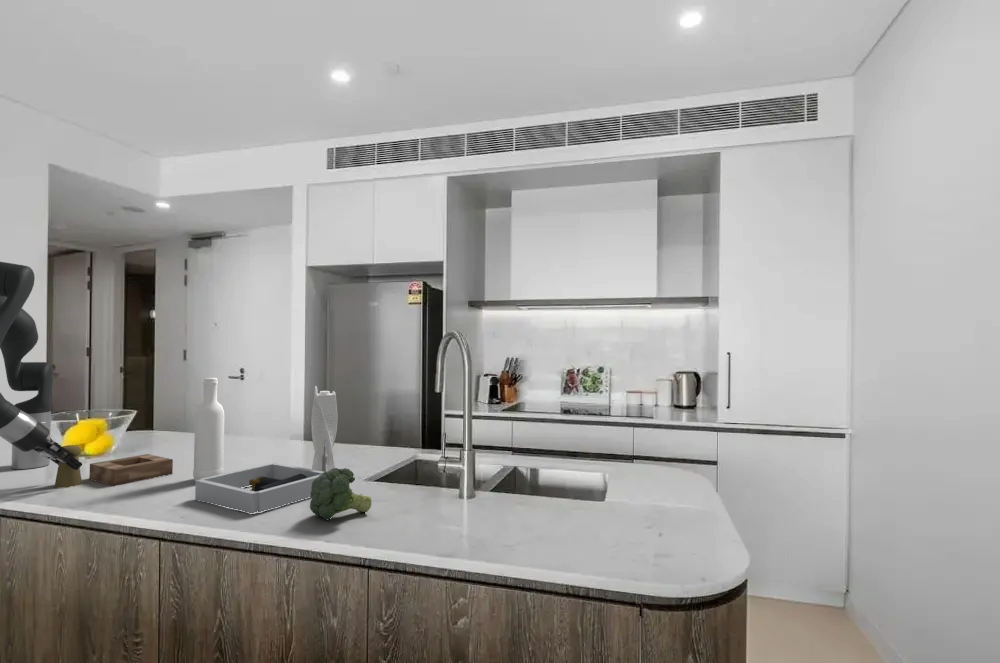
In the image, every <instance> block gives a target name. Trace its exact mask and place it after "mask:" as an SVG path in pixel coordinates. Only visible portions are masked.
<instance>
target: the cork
mask: <svg viewBox="0 0 1000 663" xmlns="http://www.w3.org/2000/svg"><path fill="white" fill-rule="evenodd" d="M62 447H63V448H65V449H66V450H68V451H69V452H70V453H73V455H74V456H73V457H74V458H75V459H77V460H78V461H79V462H80V459H79V456H80V455H81V453H82V449H81V447H80V446H79V445H76V444H68V445H63V446H62ZM65 456H67V455H66V454H62V455H61V457H63V458H64V457H65ZM57 466H58V467H57V471H56V477H55V483H54V488H57V487H65V488H71V487H70V486H73V487H76V485H77V486H80V485H82V484H83V482H82V476H81V475H82V473H81V467H80V468H79V469H78V470H74V469H72V468H71V467H69V466H68V465H67V464H65V463H62V461H60V460H59V465H58V464H57Z"/></svg>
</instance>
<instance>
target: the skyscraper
mask: <svg viewBox="0 0 1000 663" xmlns="http://www.w3.org/2000/svg"><path fill="white" fill-rule="evenodd" d="M313 395H314V396H313V402H312V407H311V408H312V409H311V421H310V422H311V424H310V427H311V438H312V444H313V449H314V453H313V454H314V455H313V459H312V466H311V469H312V470H317V471H323V472H326V471H330V470H331V469H332V468H336V465H335V463H336V462H335V458H334V452H333V451H334V450H333V448H334V446H335V442H336V436H337V431H338V419H339V416H338V414H339V413H338V403H337V396H336V395H337V393H336V392H335V391H334V390H332V392H331V391H329V390H320V391H319V393H318V387H317V385H315V386H314V394H313Z"/></svg>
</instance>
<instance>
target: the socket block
mask: <svg viewBox="0 0 1000 663" xmlns="http://www.w3.org/2000/svg"><path fill="white" fill-rule="evenodd" d="M173 459H174V458H168V457H165V456H164V457H163V456H159V455H153V454H149V453H146V454H140V455H132V456H128V457H123V458H122V457H121V458H115V459H109V460H104V461H99V462H98V461H97V462H90V463H89V475H88V476H89V480H91V479H92V480H91V481H94V480H96V481H95V482H98V481H99V482H98V483H102V482H103V483H102V484H105V483H106V485H109V486H114V487H116V485H117V486H121V485H126V484H131V483H135V482H140V481H145V479H146V480H150V478H151V479H155V478H154V477H156V478H160V477H159V476H161V477H164V476H163V475H165V476H169V475H168V474H170V475H173V472H174V471H173V467H174V466H173V465H174V461H173Z"/></svg>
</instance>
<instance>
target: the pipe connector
mask: <svg viewBox="0 0 1000 663" xmlns="http://www.w3.org/2000/svg"><path fill="white" fill-rule="evenodd" d="M306 478H307V477H306V476H305V475H304V474H298V475H295V476H292V477H289V478H286V479H283V480H280V479H273V478H268V477H264V476H260V477H257V479H251V480H249V485H252V487H251V489H249V490H250V491H255V492H257V491H261V490H265V489H268V488H272V487H276V486H280V485H283V484H287V483H291V482H294V481H298V480H302V479H306Z"/></svg>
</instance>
